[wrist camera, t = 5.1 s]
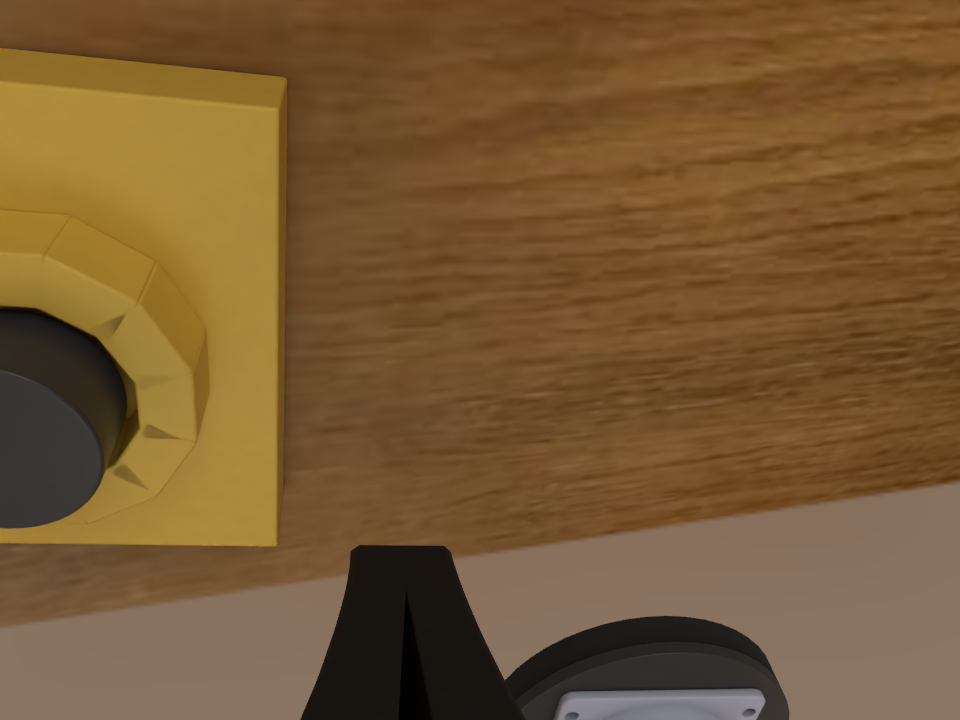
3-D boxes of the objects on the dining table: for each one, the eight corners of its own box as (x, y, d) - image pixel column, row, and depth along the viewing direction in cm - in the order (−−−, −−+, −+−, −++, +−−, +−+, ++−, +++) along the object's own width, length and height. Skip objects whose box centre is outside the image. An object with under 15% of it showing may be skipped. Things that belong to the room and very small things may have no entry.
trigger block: (283, 492, 25) (271, 601, 21) (-93, 483, 23) (-170, 599, 20) (288, 75, 18) (270, 140, 15) (-238, 21, 16) (-389, 80, 13)
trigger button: (136, 465, 19) (113, 532, 17) (-58, 460, 18) (-101, 528, 17) (118, 313, 17) (91, 372, 15) (-102, 301, 16) (-157, 361, 15)
